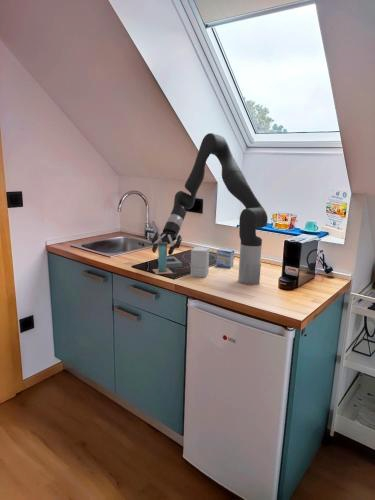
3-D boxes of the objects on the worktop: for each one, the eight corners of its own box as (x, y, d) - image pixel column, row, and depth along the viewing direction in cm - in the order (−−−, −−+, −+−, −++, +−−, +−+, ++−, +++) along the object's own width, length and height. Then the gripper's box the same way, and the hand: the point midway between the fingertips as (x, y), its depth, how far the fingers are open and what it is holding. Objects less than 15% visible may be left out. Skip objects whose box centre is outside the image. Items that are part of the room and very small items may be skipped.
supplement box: (208, 273, 181) (209, 247, 178) (205, 277, 174) (206, 251, 171) (193, 271, 183) (194, 246, 180) (189, 276, 176) (190, 249, 173)
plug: (168, 271, 179) (168, 242, 176) (159, 272, 178) (159, 243, 175) (165, 269, 183) (166, 241, 180) (156, 270, 182) (156, 241, 179)
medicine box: (215, 266, 194) (216, 249, 192) (219, 264, 198) (220, 248, 196) (230, 268, 190) (231, 251, 188) (233, 266, 194) (234, 250, 192)
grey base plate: (182, 267, 189) (182, 263, 188) (164, 269, 186) (164, 264, 185) (173, 260, 202) (174, 256, 201) (157, 261, 199) (157, 257, 198)
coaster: (172, 274, 178) (172, 272, 178) (156, 275, 176) (156, 273, 175) (168, 269, 185) (168, 268, 185) (152, 270, 183) (152, 269, 183)
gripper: (158, 219, 185) (145, 246, 177) (184, 222, 179) (171, 250, 171) (163, 228, 190) (151, 255, 183) (188, 231, 184) (177, 259, 177)
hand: (161, 253), depth 177 cm, fingers open, 8 cm apart
